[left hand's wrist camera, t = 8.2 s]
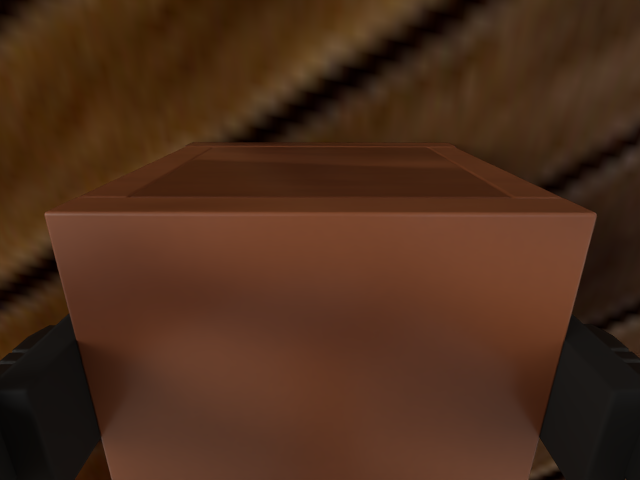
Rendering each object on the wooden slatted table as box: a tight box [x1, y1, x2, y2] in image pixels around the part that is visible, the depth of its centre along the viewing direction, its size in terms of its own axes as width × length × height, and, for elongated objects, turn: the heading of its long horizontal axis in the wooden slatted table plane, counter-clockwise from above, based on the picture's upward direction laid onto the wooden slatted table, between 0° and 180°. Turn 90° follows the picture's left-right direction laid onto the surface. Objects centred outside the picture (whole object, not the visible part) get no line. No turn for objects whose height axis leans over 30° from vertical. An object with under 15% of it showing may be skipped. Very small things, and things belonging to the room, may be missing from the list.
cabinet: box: [45, 142, 597, 480], centre depth 15 cm, size 19×10×10 cm, turn 0°
